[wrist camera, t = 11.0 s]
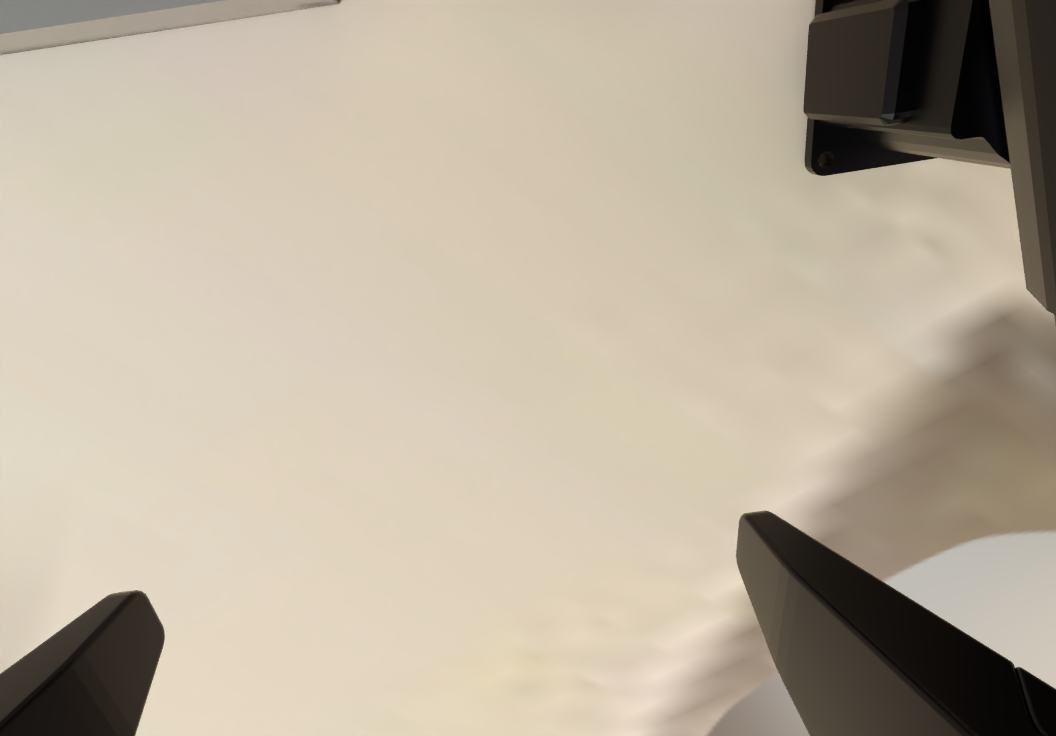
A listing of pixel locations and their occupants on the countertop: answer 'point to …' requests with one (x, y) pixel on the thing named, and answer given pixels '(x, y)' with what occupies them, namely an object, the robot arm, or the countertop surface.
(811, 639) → the robot arm
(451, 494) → the countertop surface
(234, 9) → the tray
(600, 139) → the countertop surface
